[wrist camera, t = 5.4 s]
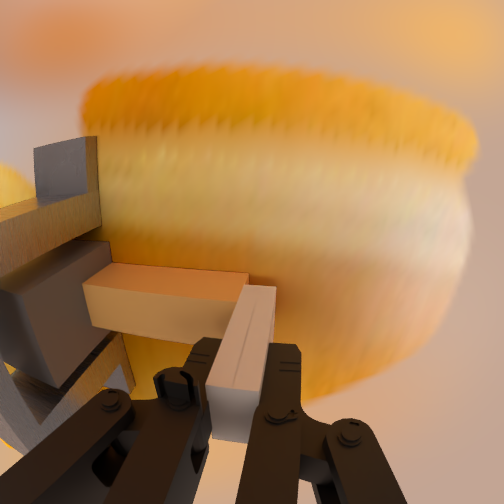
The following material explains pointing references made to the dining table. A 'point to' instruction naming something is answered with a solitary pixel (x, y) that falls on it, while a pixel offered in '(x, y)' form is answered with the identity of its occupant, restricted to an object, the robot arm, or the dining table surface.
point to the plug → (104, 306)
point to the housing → (28, 248)
